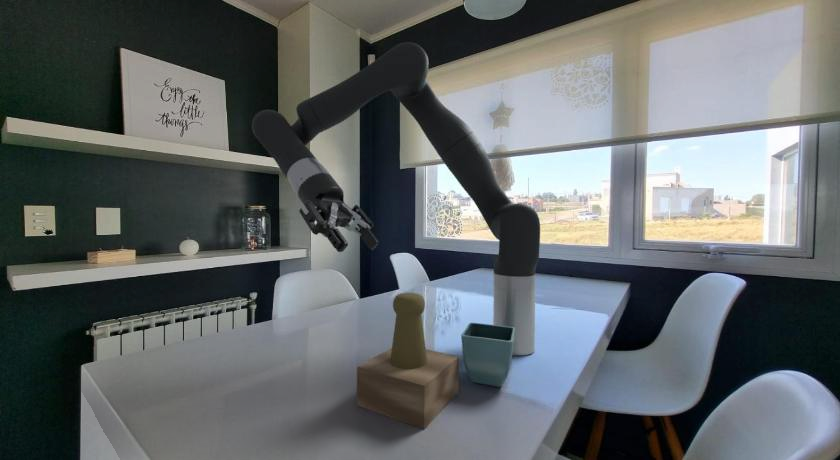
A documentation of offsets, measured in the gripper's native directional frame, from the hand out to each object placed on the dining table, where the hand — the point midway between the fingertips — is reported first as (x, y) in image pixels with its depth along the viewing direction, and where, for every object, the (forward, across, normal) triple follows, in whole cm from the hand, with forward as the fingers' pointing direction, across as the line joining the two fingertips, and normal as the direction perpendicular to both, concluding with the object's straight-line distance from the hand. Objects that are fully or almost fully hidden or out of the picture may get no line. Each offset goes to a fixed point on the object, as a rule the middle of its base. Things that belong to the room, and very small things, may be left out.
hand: (360, 247), depth 58 cm
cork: (+20, 0, +6) cm, 21 cm away
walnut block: (+24, 0, +10) cm, 26 cm away
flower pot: (+31, +13, +3) cm, 34 cm away
